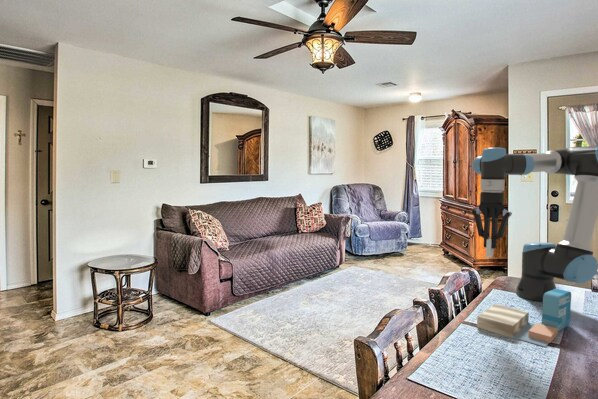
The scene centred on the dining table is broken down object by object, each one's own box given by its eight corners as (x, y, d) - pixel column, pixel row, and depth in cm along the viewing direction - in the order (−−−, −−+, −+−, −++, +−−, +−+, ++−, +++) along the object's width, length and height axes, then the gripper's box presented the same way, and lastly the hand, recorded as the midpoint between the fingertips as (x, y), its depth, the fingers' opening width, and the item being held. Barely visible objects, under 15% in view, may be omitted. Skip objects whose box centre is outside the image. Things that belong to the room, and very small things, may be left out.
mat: (528, 323, 131) (528, 322, 131) (558, 330, 125) (559, 330, 125) (512, 337, 119) (512, 336, 119) (545, 347, 113) (545, 346, 113)
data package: (556, 332, 122) (558, 296, 122) (540, 328, 126) (543, 293, 125) (569, 325, 129) (571, 290, 129) (554, 320, 133) (556, 287, 132)
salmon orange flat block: (557, 328, 121) (557, 334, 121) (536, 322, 125) (536, 328, 126) (550, 336, 115) (550, 343, 115) (528, 330, 119) (528, 336, 119)
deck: (494, 314, 139) (495, 303, 139) (528, 323, 131) (528, 311, 131) (477, 327, 127) (477, 316, 127) (512, 337, 119) (513, 325, 119)
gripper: (469, 191, 135) (466, 255, 137) (508, 192, 126) (505, 261, 127) (477, 190, 140) (474, 252, 142) (515, 191, 131) (512, 258, 132)
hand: (489, 256), depth 135 cm, fingers closed
